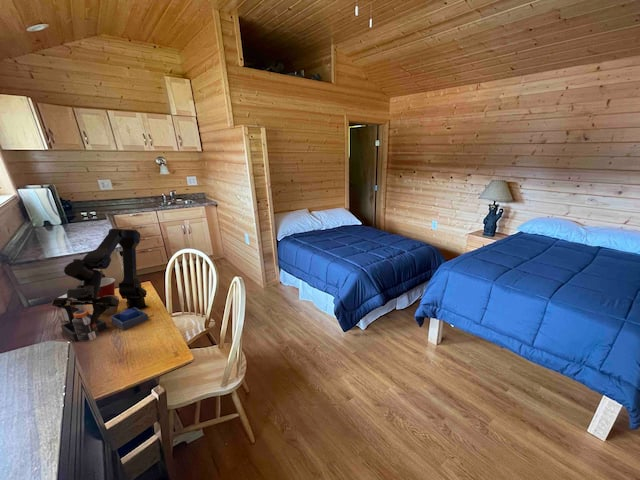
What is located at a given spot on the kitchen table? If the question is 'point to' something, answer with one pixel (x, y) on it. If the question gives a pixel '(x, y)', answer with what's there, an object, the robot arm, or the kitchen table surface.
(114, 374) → the kitchen table surface
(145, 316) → the blue bin
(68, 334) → the charcoal bin
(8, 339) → the kitchen table surface
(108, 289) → the plastic cup
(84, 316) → the pill bottle
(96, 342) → the kitchen table surface
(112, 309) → the gray bowl
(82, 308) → the cosmetic box
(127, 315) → the blue block
